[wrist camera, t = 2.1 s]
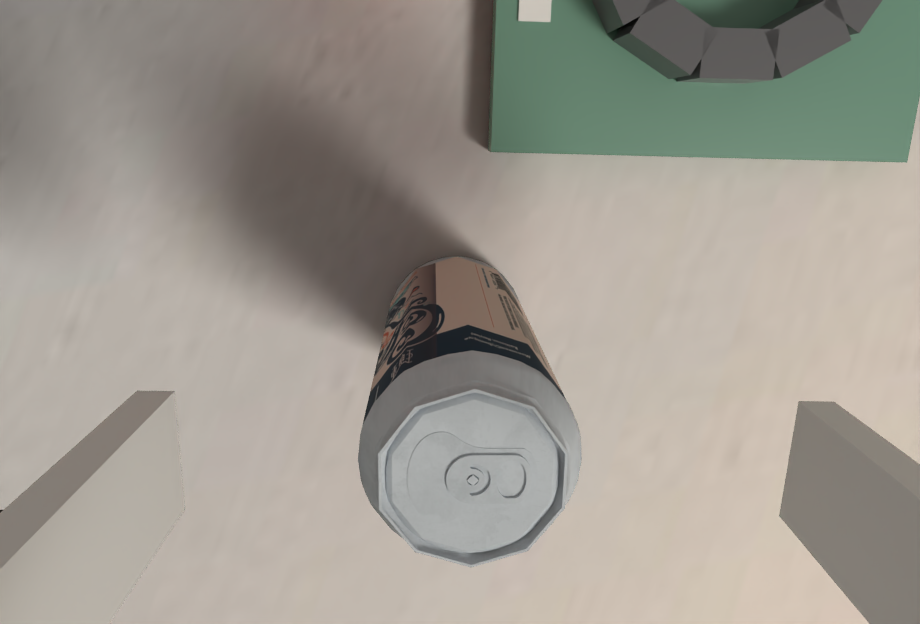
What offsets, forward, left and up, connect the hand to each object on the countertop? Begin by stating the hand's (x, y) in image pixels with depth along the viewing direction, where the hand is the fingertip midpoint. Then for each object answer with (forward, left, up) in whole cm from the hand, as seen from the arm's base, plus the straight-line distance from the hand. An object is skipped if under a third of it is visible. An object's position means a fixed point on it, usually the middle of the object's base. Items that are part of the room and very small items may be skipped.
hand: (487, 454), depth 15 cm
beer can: (0, 0, -11) cm, 11 cm away
